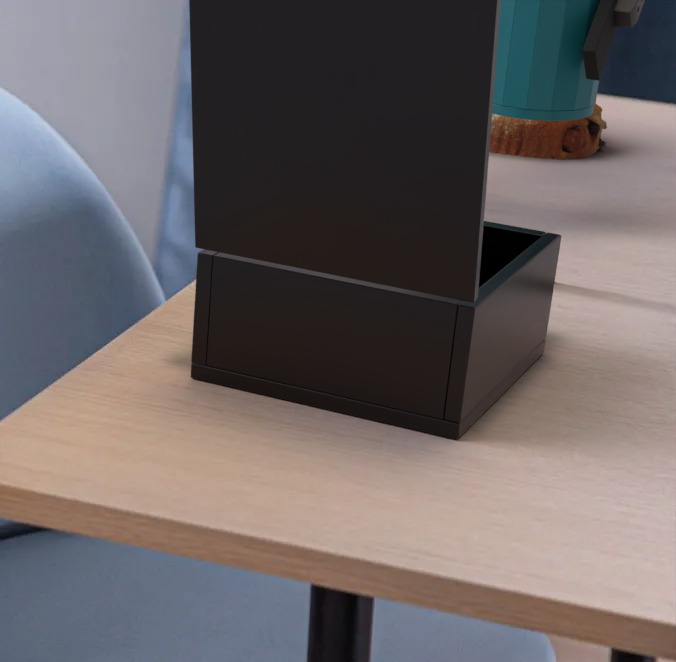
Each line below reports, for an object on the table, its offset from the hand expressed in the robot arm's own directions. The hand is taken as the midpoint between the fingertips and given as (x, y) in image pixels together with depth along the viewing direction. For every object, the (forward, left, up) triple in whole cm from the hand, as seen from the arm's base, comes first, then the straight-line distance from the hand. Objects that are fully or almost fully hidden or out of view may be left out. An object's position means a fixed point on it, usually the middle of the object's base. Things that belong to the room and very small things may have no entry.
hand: (522, 56), depth 103 cm
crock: (0, -3, -4) cm, 5 cm away
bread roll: (+5, -24, -11) cm, 27 cm away
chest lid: (-1, +32, +2) cm, 32 cm away
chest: (-1, +24, -11) cm, 27 cm away
